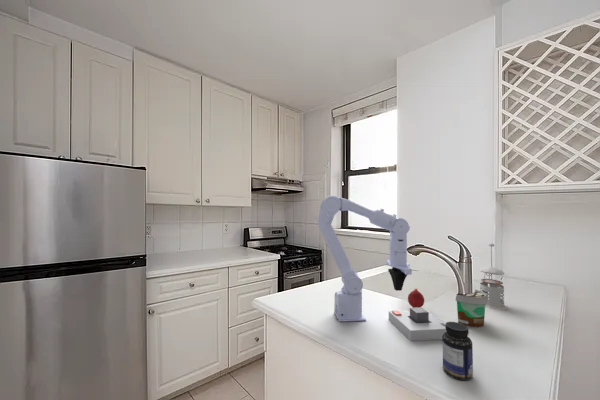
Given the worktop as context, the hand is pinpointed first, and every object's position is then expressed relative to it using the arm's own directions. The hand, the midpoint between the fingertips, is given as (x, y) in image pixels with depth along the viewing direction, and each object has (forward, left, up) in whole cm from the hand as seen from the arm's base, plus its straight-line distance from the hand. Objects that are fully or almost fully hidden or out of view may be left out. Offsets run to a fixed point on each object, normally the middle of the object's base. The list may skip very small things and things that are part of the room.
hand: (398, 289), depth 91 cm
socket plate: (+3, -8, -10) cm, 13 cm away
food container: (+24, -7, -10) cm, 27 cm away
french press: (+45, +9, -10) cm, 47 cm away
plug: (+3, -8, -10) cm, 13 cm away
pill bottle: (-1, -30, -10) cm, 32 cm away
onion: (+11, +7, -10) cm, 16 cm away
